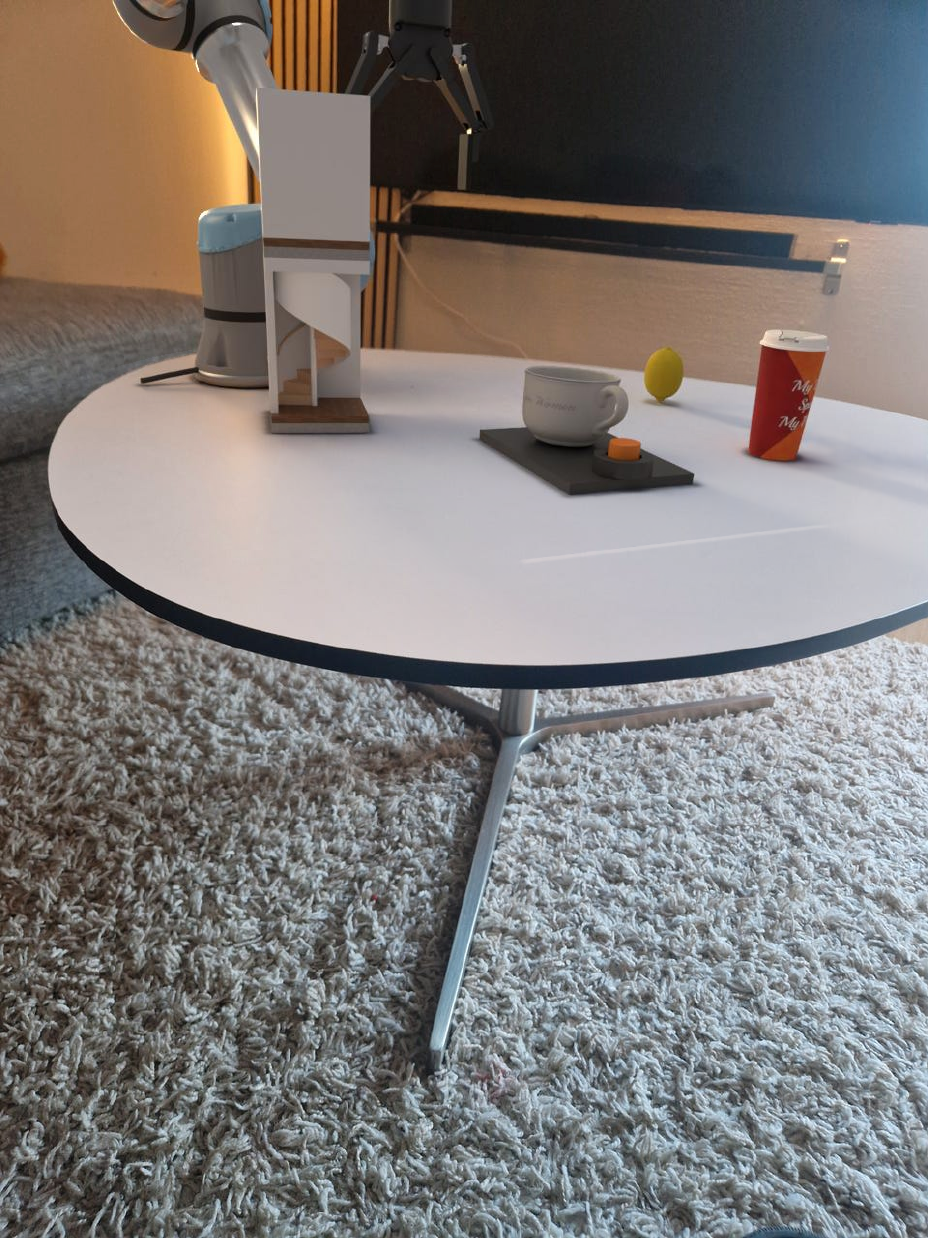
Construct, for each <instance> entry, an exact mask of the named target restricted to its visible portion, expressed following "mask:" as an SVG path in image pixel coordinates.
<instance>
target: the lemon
mask: <svg viewBox="0 0 928 1238" xmlns="http://www.w3.org/2000/svg"><path fill="white" fill-rule="evenodd" d="M683 379H684V361H683V360H682V357H681V355H680V354H679V353H678V352H676V351H675V350H674V349H672V348H671V346H668V345H667V346H665V347H663V348H662V349H659V350H656V351H655V352H654V353H653V354H652V355H651V356H650V357H649V359H648V360H647V363H646V366H645V368H644V375H643V382H644V387H645V389H646V391H647V392H648V394H649V395H650V396H652V397H654V398H655V401H656V402H658V403H663V402H664V401H665V400H666V399H668V398H671V397H673V396H674V395H675V394H676V393H677V392H678V391H679V389H680V387H681V386H682V383H683Z"/></svg>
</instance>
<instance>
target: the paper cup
mask: <svg viewBox="0 0 928 1238" xmlns="http://www.w3.org/2000/svg"><path fill="white" fill-rule="evenodd" d="M828 343H829V338H828V336H827V335H825V334H821V333H817V332H812V331H802V330H793V329H767V330H766V331H765V332H764V335H763V338H762V339H761V340H760V341H759V345H761V348H760V357H759V363H758V370H757V371H758V372H757V379H756V386H755V394H754V403H753V410H752V418H751V425H750V431H749V441H748V453H749V454H750V455H751V456H754V457H756V458H759V459H763V460H769V461H777V462H778V461H780V462H788V461H794V460H795V459H796V458H797V456H798V453H799V449H800V446H801V443H802V439H803V436H804V432H805V429H806V426H807V421H808V419H809V415H810V412H811V407H812V404H813V400H814V397H815V394H816V390H817V387H818V386H817V385H818V383H819V378H820V375H821V372H822V368H823V364H824V360H825V358H826V353H827V352H829V351H830V350H831V349H830V346H829V345H828Z"/></svg>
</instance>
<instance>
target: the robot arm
mask: <svg viewBox="0 0 928 1238" xmlns="http://www.w3.org/2000/svg"><path fill="white" fill-rule="evenodd" d="M112 3H113V5H114V8H115V11H116V13H117V15H118V16H119V18H120V20H121V21H122V23H123V24H124V25H125V26H126V28H127V29H128V30H129V31H130V32H131V33H132V34H133V35H135V37H137V38H138V39H139V40H140V41H142V42H143V43H146V44H147V45H149V46H152V47H154V48H157V49H162V50H166V51H174V52H180V53H184V54H185V53H186V54H189V55H190V56H191V58H192V59H193V62H194V64H195V66H196V68H197V71H198V73H199V74H200V76H201V77H202V78H203V79H204V80H206V81H207V82H209V83H211V84H213V85H214V86H215V87H216V90H217V92H218V94H219V96H220V98H221V101H222V103H223V105H224V107H225V110H226V112H227V114H228V117H229V119H230V121H231V123H232V125H233V127H234V128H233V129H234V130H235V132H236V135H237V137H238V139H239V141H240V143H241V146H242V148H243V150H244V152H245V155H246V157H247V159H248V162H249V165H250V167H251V168H252V171H253V174H254V175H255V178H256V180H257V182H258V184H259V185H260V170H259V148H258V125H257V103H256V88H271V89H280V88H279V86H278V84H277V82H276V80H275V78H274V75H273V73H272V70H271V69H270V66H269V64H268V62H267V59H268V57H269V53H270V47H271V44H272V39H273V24H272V23H271V21H270V19H272V12H271V11H272V10H271V8H270V4H269V1H268V0H112ZM388 4H389V6H388V13H389V14H388V28H389V29H388V34H387V35H382V34H379V32H378V31H376V30H371V31H368V32H366V33H364V34H363V36H362V47H361V54H360V57H359V58H358V60H357V63H356V66H355V68H354V70H353V73H352V75H351V77H350V80H349V82H348V85H347V87H346V89H345V91H344V94H351V95H362V92H363V89H364V88H365V85H366V83H367V80H368V78H369V76H370V75H371V74H370V73H371V71H372V69H373V67H374V65H375V62H376V59H377V56H379V55H381V54H382V52H383V49H384V48H385V50H386V52H387V54H388V56H389V57H390V60H391V62H390V64H389V65H388V67H387V68H386V69H385V71H383V75H382V76H381V77H380V78H379V80H378V81H377V82H376V84H375V85H374V87H373V88H372V89H371V90H370V91H369V93H368V94H367V96H370V117H371V116H372V115H373V113H374V112H375V111H376V109H378V107H379V106H380V104H381V103H382V102H383V101H384V99H385V98H386V97H387V95H388V94H389V92H390V91H391V90H392V88H393V87H394V86H395V84H396V83H397V82H398V81H399V80H400V79H401V78H402V79H403V80H404V81H414V80H417V81H420V82H422V83H430V82H434V83H435V85H436V87H438V88H439V89H440V91H441V93H442V94H443V96H444V97H445V99H446V101H447V102H448V104H449V106H450V107H451V109H452V111H453V113H454V114H455V116H456V117H457V119H458V120H459V123H460V124H461V125H462V127H463V129H464V130H465V132H466V133H461V134H459V148H458V171H457V172H458V173H457V190H459V191H461V190H462V191H472V175H473V163H477V162H478V160H479V156H480V154H479V153H480V137H481V134H483V133H484V132H485V131H489V130H492V129H494V128H495V120H494V117H493V113H492V111H491V108H490V105H489V101H488V98H487V94H486V92H485V89H484V86H483V83H482V81H481V78H480V77H481V76H480V74H479V71H478V68H477V64H476V49H475V48H476V47H475V45H474V43H473V42H471V41H469V42H465V43H463V44H453V43H452V39H451V31H452V15H453V13H452V12H453V0H389V1H388ZM452 57H453V58H454V61H455V63H456V64H457V65H458V69H459V71H460V76H461V78H462V81H463V84H464V88H465V90H466V94H467V96H468V99H469V102H470V104H469V103H468V102H467V100H466V98H465V96H464V95H463V93H462V91H461V89H460V88H459V86H458V84H457V83H456V81H455V76H454V75H453V73H452V71H451V70H450V68H449V66H448V63H449V61H450V60H451V58H452ZM470 105H471V106H470ZM372 185H373V125H370V186H372ZM196 247H197V250H198V255H199V256H198V257H199V269H200V283H201V297H202V307H203V328H202V331H201V336H200V339H199V343H198V348H197V352H196V356H195V360H194V367H188V368H183V369H178V370H173V371H169V372H164V373H158V374H154V375H150V376H145V377H140V384H141V385H145V384H150V383H153V382H154V383H155V382H158V381H162V380H169V379H172V378H178V377H183V376H187V375H192V374H194V377H195V379H196V380H198V381H199V382H203V383H204V384H208V385H213V386H214V385H215V386H220V387H221V386H222V387H231V388H269V372H268V350H267V327H266V305H265V282H264V260H263V238H262V215H261V202H260V203H259V202H257V203H248V204H247V203H242V204H231V205H230V204H229V205H223V206H217V207H213V208H209V209H206V210H205V211H203V212H202V213H201V214H200V216H199V218H198V221H197V243H196ZM375 260H376V245H375V239H374V235H373V232H372V229H371V228H370V275H366V274H360V293H361V292H363V291H364V290H365V288H366V287H367V285H368V284H369V283H370V280H371V278H372V275H373V272H374V266H375V265H374V264H375Z"/></svg>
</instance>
